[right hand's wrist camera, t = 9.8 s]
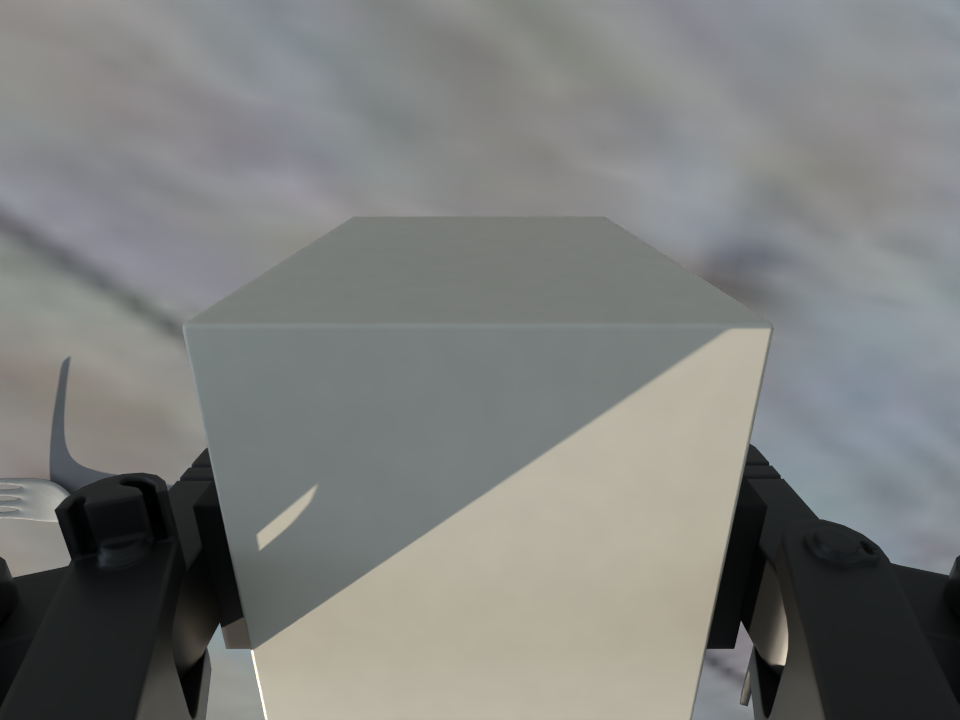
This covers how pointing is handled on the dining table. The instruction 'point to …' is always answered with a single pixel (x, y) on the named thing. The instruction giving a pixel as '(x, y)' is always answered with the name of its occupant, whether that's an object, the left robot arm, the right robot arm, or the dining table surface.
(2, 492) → the fork
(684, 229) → the dining table surface
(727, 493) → the brick
